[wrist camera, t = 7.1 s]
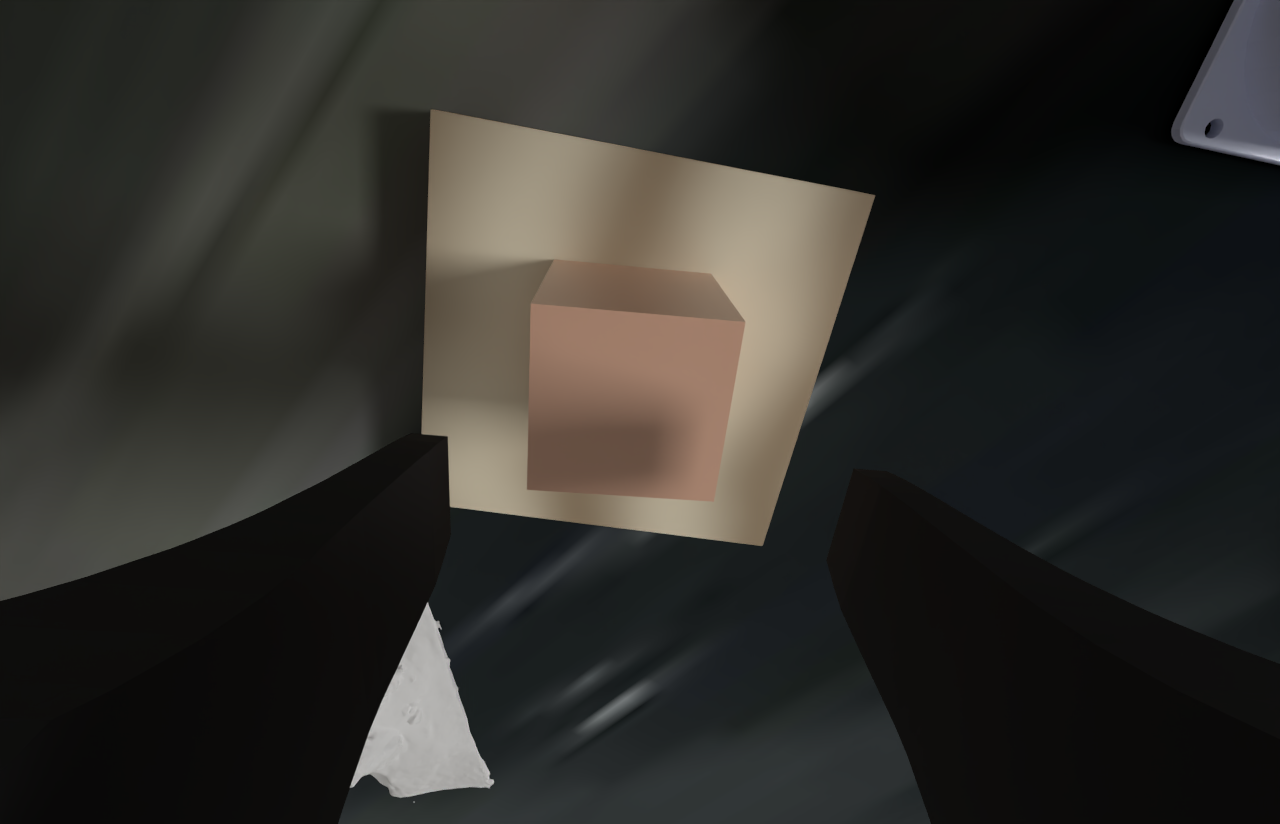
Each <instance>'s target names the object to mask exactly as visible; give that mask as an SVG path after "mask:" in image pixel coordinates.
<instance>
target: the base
mask: <svg viewBox="0 0 1280 824" xmlns="http://www.w3.org/2000/svg"><path fill="white" fill-rule="evenodd" d="M874 198H875V195H871V194H866V193H862V192H857V191H852V190H847V189H842V188H837V187H832V186H827V185H822V184H817V183H811V182H806V181H801V180H796V179H791V178H786V177H781V176H775V175H770V174H765V173H760V172H755V171H750V170H745V169H739V168H734V167H729V166H724V165H719V164H714V163H709V162H703V161H698V160H693V159H688V158H683V157H678V156H673V155H667V154H662V153H657V152H652V151H647V150H642V149H637V148H631V147H626V146H621V145H616V144H611V143H606V142H601V141H595V140H590V139H585V138H580V137H575V136H570V135H565V134H559V133H554V132H549V131H544V130H539V129H534V128H529V127H523V126H518V125H513V124H508V123H503V122H498V121H493V120H487V119H482V118H477V117H472V116H467V115H462V114H457V113H451V112H446V111H440V110H434V109H431V114H430V150H429V185H428V220H427V256H426V291H425V327H424V362H423V397H422V433H421V434H425V435H438V436H448V459H449V493H450V507H456V508H464V509H472V510H480V511H488V512H496V513H504V514H512V515H520V516H528V517H536V518H544V519H552V520H560V521H568V522H576V523H584V524H592V525H600V526H608V527H615V528H623V529H631V530H639V531H647V532H655V533H663V534H671V535H679V536H687V537H695V538H703V539H711V540H719V541H727V542H735V543H743V544H751V545H759V546H763V542H764V539H765V536H766V533H767V530H768V527H769V524H770V521H771V518H772V515H773V511H774V508H775V505H776V502H777V499H778V496H779V493H780V490H781V487H782V483H783V480H784V477H785V474H786V471H787V468H788V465H789V462H790V459H791V455H792V452H793V449H794V446H795V443H796V440H797V437H798V434H799V431H800V428H801V424H802V421H803V418H804V415H805V412H806V409H807V406H808V403H809V400H810V396H811V393H812V390H813V387H814V384H815V381H816V378H817V375H818V372H819V369H820V365H821V362H822V359H823V356H824V353H825V350H826V347H827V344H828V341H829V337H830V334H831V331H832V328H833V325H834V322H835V319H836V316H837V313H838V309H839V306H840V303H841V300H842V297H843V294H844V291H845V288H846V285H847V282H848V278H849V275H850V272H851V269H852V266H853V263H854V260H855V257H856V254H857V250H858V247H859V244H860V241H861V238H862V235H863V232H864V229H865V226H866V222H867V219H868V216H869V213H870V210H871V207H872V204H873V201H874ZM554 259H557V260H568V261H579V262H590V263H601V264H612V265H622V266H633V267H644V268H655V269H666V270H677V271H688V272H699V273H710V274H712V275H713V277H714V278H715V280H716V281H717V282H718V284H719V285H720V287H721V288H722V290H723V291H724V292H725V294H726V295H727V297H728V298H729V299H730V301H731V302H732V304H733V305H734V306H735V308H736V309H737V311H738V312H739V313H740V315H741V316H742V318H743V319H744V320H745V328H744V334H743V339H742V345H741V351H740V356H739V362H738V368H737V374H736V379H735V385H734V391H733V396H732V402H731V408H730V413H729V419H728V425H727V430H726V436H725V442H724V447H723V453H722V459H721V464H720V470H719V476H718V481H717V487H716V493H715V498H714V502H712V501H696V500H680V499H664V498H648V497H632V496H617V495H601V494H585V493H569V492H553V491H537V490H527V459H528V411H529V363H530V315H531V302H532V300H533V298H534V296H535V295H536V293H537V291H538V289H539V287H540V285H541V283H542V281H543V279H544V278H545V276H546V274H547V272H548V270H549V268H550V266H551V264H552V262H553V261H554Z"/></svg>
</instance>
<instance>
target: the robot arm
mask: <svg viewBox="0 0 1280 824" xmlns="http://www.w3.org/2000/svg"><path fill="white" fill-rule="evenodd" d="M1209 122H1211V128H1210V131H1209V132H1208V134H1207V135H1206V136H1205V128H1206V126H1207V125H1208V123H1209ZM1171 134H1172V138H1173V139H1174V141H1175V142H1177V143H1179V144H1183V145H1188V146H1193V147H1197V148H1202V149H1206V150H1211V151H1216V152H1220V153H1225V154H1229V155H1234V156H1239V157H1243V158H1248V159H1253V160H1257V161H1262V162H1266V163H1271V164H1276V165H1280V0H1234V1H1233V3H1232V5H1231V7H1230V9H1229V11H1228V13H1227V15H1226V17H1225V19H1224V21H1223V23H1222V25H1221V27H1220V29H1219V31H1218V33H1217V36H1216V38H1215V40H1214V42H1213V44H1212V46H1211V48H1210V50H1209V52H1208V54H1207V56H1206V58H1205V60H1204V62H1203V64H1202V66H1201V68H1200V70H1199V72H1198V74H1197V76H1196V78H1195V80H1194V82H1193V84H1192V86H1191V88H1190V90H1189V92H1188V94H1187V96H1186V98H1185V100H1184V102H1183V104H1182V106H1181V108H1180V110H1179V112H1178V114H1177V116H1176V118H1175V121H1174V123H1173V126H1172V129H1171ZM450 535H451V526H450V493H449V459H448V436H438V435H425V434H413V433H412V434H409V435H407V436H405V437H402V438H400V439H398V440H396V441H395V442H393V443H391V444H389V445H387V446H385V447H384V448H382V449H380V450H378V451H376V452H375V453H373V454H371V455H369V456H367V457H366V458H364V459H362V460H360V461H359V462H357V463H355V464H353V465H351V466H349V467H348V468H346V469H344V470H342V471H340V472H339V473H337V474H335V475H333V476H331V477H330V478H328V479H326V480H324V481H322V482H320V483H318V484H316V485H314V486H312V487H310V488H308V489H306V490H304V491H302V492H300V493H298V494H296V495H294V496H292V497H290V498H288V499H286V500H284V501H282V502H280V503H278V504H276V505H274V506H272V507H270V508H268V509H266V510H264V511H262V512H259V513H257V514H255V515H253V516H251V517H248V518H246V519H244V520H242V521H239V522H237V523H235V524H232V525H230V526H228V527H225V528H223V529H220V530H218V531H215V532H213V533H210V534H208V535H205V536H203V537H200V538H198V539H195V540H193V541H190V542H187V543H185V544H182V545H179V546H177V547H174V548H171V549H168V550H165V551H162V552H159V553H156V554H153V555H150V556H147V557H144V558H141V559H138V560H135V561H132V562H129V563H127V564H124V565H121V566H118V567H115V568H112V569H109V570H106V571H103V572H100V573H97V574H94V575H91V576H88V577H84V578H81V579H78V580H74V581H71V582H68V583H64V584H61V585H57V586H54V587H50V588H47V589H43V590H40V591H36V592H33V593H29V594H26V595H22V596H18V597H15V598H11V599H7V600H3V601H0V824H338V822H339V819H340V816H341V812H342V809H343V806H344V803H345V800H346V797H347V794H348V792H349V789H350V786H351V783H352V780H353V777H354V774H355V771H356V768H357V766H358V763H359V760H360V757H361V754H362V751H363V748H364V745H365V743H366V740H367V737H368V734H369V731H370V729H371V726H372V724H373V721H374V719H375V717H376V714H377V712H378V709H379V707H380V704H381V702H382V700H383V698H384V696H385V693H386V691H387V689H388V687H389V685H390V683H391V680H392V678H393V676H394V674H395V672H396V670H397V668H398V665H399V663H400V661H401V659H402V657H403V655H404V652H405V650H406V648H407V646H408V644H409V642H410V640H411V637H412V635H413V633H414V631H415V629H416V627H417V624H418V622H419V620H420V618H421V616H422V613H423V611H424V609H425V607H426V605H427V602H428V600H429V598H430V596H431V594H432V591H433V589H434V587H435V585H436V582H437V578H438V575H439V572H440V569H441V566H442V563H443V559H444V556H445V552H446V549H447V546H448V542H449V539H450ZM827 564H828V567H829V571H830V574H831V578H832V582H833V585H834V589H835V592H836V595H837V598H838V601H839V604H840V607H841V610H842V612H843V615H844V617H845V619H846V622H847V624H848V626H849V628H850V630H851V633H852V635H853V637H854V639H855V641H856V644H857V646H858V648H859V650H860V652H861V654H862V656H863V659H864V661H865V663H866V665H867V667H868V669H869V671H870V674H871V676H872V678H873V680H874V682H875V684H876V686H877V688H878V691H879V693H880V695H881V697H882V699H883V701H884V703H885V706H886V708H887V710H888V712H889V714H890V716H891V718H892V720H893V723H894V725H895V727H896V729H897V732H898V734H899V737H900V739H901V741H902V744H903V746H904V748H905V751H906V753H907V756H908V759H909V762H910V764H911V767H912V770H913V773H914V776H915V779H916V781H917V784H918V787H919V790H920V793H921V796H922V799H923V801H924V804H925V807H926V810H927V813H928V816H929V819H930V822H931V824H1280V664H1278V663H1275V662H1273V661H1270V660H1267V659H1265V658H1262V657H1259V656H1257V655H1254V654H1251V653H1248V652H1246V651H1243V650H1241V649H1238V648H1235V647H1233V646H1230V645H1228V644H1225V643H1223V642H1221V641H1218V640H1216V639H1213V638H1211V637H1208V636H1206V635H1203V634H1201V633H1198V632H1196V631H1193V630H1191V629H1189V628H1186V627H1184V626H1181V625H1179V624H1176V623H1174V622H1172V621H1169V620H1167V619H1165V618H1162V617H1160V616H1158V615H1155V614H1153V613H1151V612H1149V611H1146V610H1144V609H1142V608H1140V607H1137V606H1135V605H1133V604H1131V603H1129V602H1127V601H1125V600H1123V599H1120V598H1118V597H1116V596H1114V595H1112V594H1110V593H1108V592H1106V591H1104V590H1101V589H1099V588H1097V587H1095V586H1093V585H1091V584H1089V583H1087V582H1085V581H1083V580H1081V579H1079V578H1077V577H1075V576H1073V575H1071V574H1069V573H1067V572H1065V571H1063V570H1061V569H1059V568H1058V567H1056V566H1054V565H1052V564H1050V563H1048V562H1047V561H1045V560H1043V559H1041V558H1039V557H1037V556H1036V555H1034V554H1032V553H1030V552H1028V551H1026V550H1024V549H1023V548H1021V547H1019V546H1017V545H1016V544H1014V543H1012V542H1010V541H1009V540H1007V539H1005V538H1003V537H1002V536H1000V535H998V534H996V533H995V532H993V531H991V530H990V529H988V528H986V527H985V526H983V525H981V524H979V523H978V522H976V521H974V520H973V519H971V518H969V517H968V516H966V515H964V514H963V513H961V512H959V511H958V510H956V509H954V508H953V507H951V506H949V505H948V504H946V503H944V502H943V501H941V500H939V499H938V498H936V497H934V496H933V495H931V494H929V493H927V492H926V491H924V490H922V489H920V488H919V487H917V486H915V485H913V484H912V483H910V482H908V481H906V480H904V479H902V478H900V477H898V476H896V475H894V474H891V473H889V472H887V471H875V470H863V469H853V473H852V476H851V480H850V483H849V486H848V490H847V493H846V496H845V500H844V503H843V506H842V510H841V513H840V516H839V520H838V523H837V526H836V530H835V533H834V537H833V540H832V543H831V547H830V550H829V553H828V557H827Z"/></svg>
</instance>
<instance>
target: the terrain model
mask: <svg viewBox="0 0 1280 824" xmlns="http://www.w3.org/2000/svg"><path fill="white" fill-rule="evenodd" d="M438 628H440V629H441V630H442V628H441V626H440V624H439V621H437V622H436V621H435V620H434V618H433V616H432V613H431V610H430V608H429V605H428V602H427V605H426V607H425V609H424V611H423V613H422V616H421V618H420V620H419V622H418V624H417V627H416V629H415V631H414V633H413V635H412V637H411V640H410V642H409V644H408V646H407V648H406V650H405V652H404V655H403V657H402V659H401V661H400V663H399V665H398V668H397V670H396V672H395V674H394V676H393V678H392V680H391V683H390V685H389V687H388V689H387V691H386V693H385V696H384V698H383V700H382V702H381V704H380V707H379V709H378V712H377V714H376V717H375V719H374V721H373V724H372V726H371V729H370V731H369V734H368V737H367V740H366V743H365V745H364V748H363V751H362V754H361V757H360V760H359V763H358V766H357V768H356V771H355V774H354V777H353V780H352V783H351V786H350V788H351V787H354V785H355V784H356V783H357V782H358V781H359V779H360V778H361V777H362V776H364V775H368V774H371V775H372V776H374V777H375V778H376V779H377V780H378V781H379V782H380V783H381V784H383V785H385V786H387V787H388V789H389V792H390V794H391V795H392V796H395V797H400V798H402V797H410V796H414V795H418V794H423V793H428V792H434V791H438V790H443V789H455V788H467V787H479V788H481V787H482V788H483V787H487V788H489V789H490V786H491V785H493V783H494V780H492V779H489V778H490V777H489V775H490V772H489V770H488V768H487V766H486V764H485V762H484V760H482V759H481V757H480V755H479V753H478V750H477V747H476V745H475V742H474V739H473V738H472V735H471V733H470V731H469V726H468V719H467V718H466V714H465V711H464V708H463V706H462V703H461V700H460V697H459V694H458V687H457V686H456V684H455V680H454V678H453V675H452V672H451V669H450V668H449V666H450V658H448V657H447V654H446V651H445V649H444V646H443V642H442V639H441V636H440V633H439V631H438ZM413 803H415V802H413Z"/></svg>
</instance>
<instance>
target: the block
mask: <svg viewBox="0 0 1280 824" xmlns="http://www.w3.org/2000/svg"><path fill="white" fill-rule="evenodd" d="M744 328H745V320H744V319H743V318H742V316H741V315H740V313H739V312H738V311H737V309H736V308H735V306H734V305H733V304H732V302H731V301H730V299H729V298H728V297H727V295H726V294H725V292H724V291H723V290H722V288H721V287H720V285H719V284H718V282H717V281H716V280H715V278H714V277H713V275H712V274H710V273H699V272H688V271H677V270H666V269H655V268H644V267H633V266H622V265H612V264H601V263H590V262H579V261H568V260H557V259H554V261H553V262H552V264H551V266H550V268H549V270H548V272H547V274H546V276H545V278H544V279H543V281H542V283H541V285H540V287H539V289H538V291H537V293H536V295H535V296H534V298H533V300H532V302H531V315H530V363H529V411H528V459H527V490H537V491H553V492H569V493H585V494H601V495H617V496H632V497H648V498H664V499H680V500H696V501H712V502H714V498H715V493H716V487H717V481H718V476H719V470H720V464H721V459H722V453H723V447H724V442H725V436H726V430H727V425H728V419H729V413H730V408H731V402H732V396H733V391H734V385H735V379H736V374H737V368H738V362H739V356H740V351H741V345H742V339H743V334H744Z"/></svg>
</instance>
